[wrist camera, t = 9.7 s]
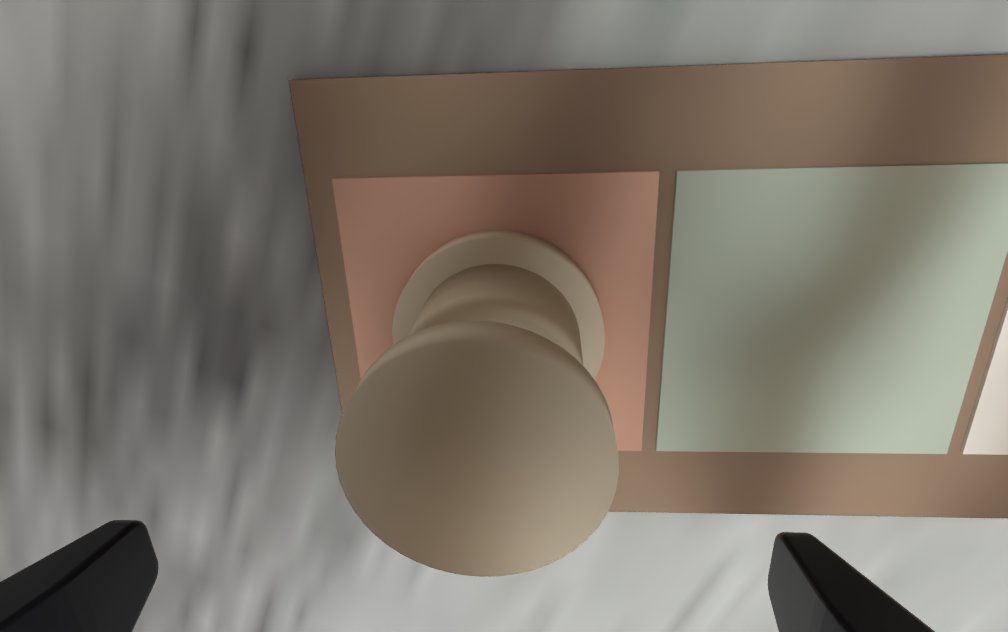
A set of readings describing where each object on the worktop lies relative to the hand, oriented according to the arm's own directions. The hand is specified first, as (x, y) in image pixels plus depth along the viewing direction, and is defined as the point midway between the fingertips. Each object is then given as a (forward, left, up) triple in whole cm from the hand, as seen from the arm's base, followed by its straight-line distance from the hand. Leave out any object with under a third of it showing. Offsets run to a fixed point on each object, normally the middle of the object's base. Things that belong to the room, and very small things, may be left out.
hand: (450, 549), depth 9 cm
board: (-8, 0, -8) cm, 11 cm away
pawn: (0, 0, -8) cm, 8 cm away
